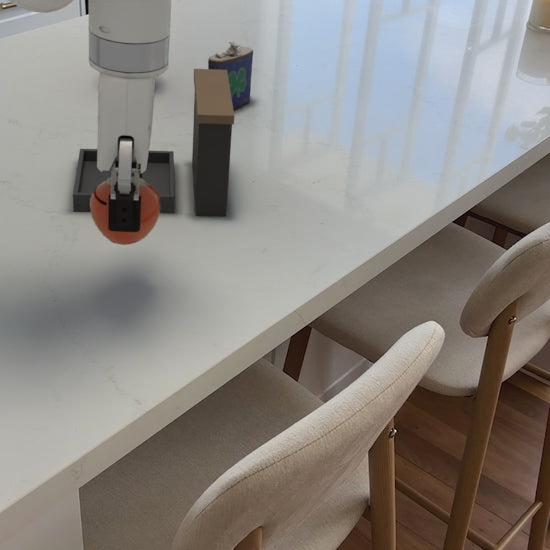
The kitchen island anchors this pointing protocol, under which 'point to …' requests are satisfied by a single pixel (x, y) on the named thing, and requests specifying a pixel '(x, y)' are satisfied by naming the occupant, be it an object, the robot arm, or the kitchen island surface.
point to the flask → (236, 72)
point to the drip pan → (90, 176)
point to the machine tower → (211, 141)
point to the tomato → (148, 212)
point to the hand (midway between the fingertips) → (125, 208)
